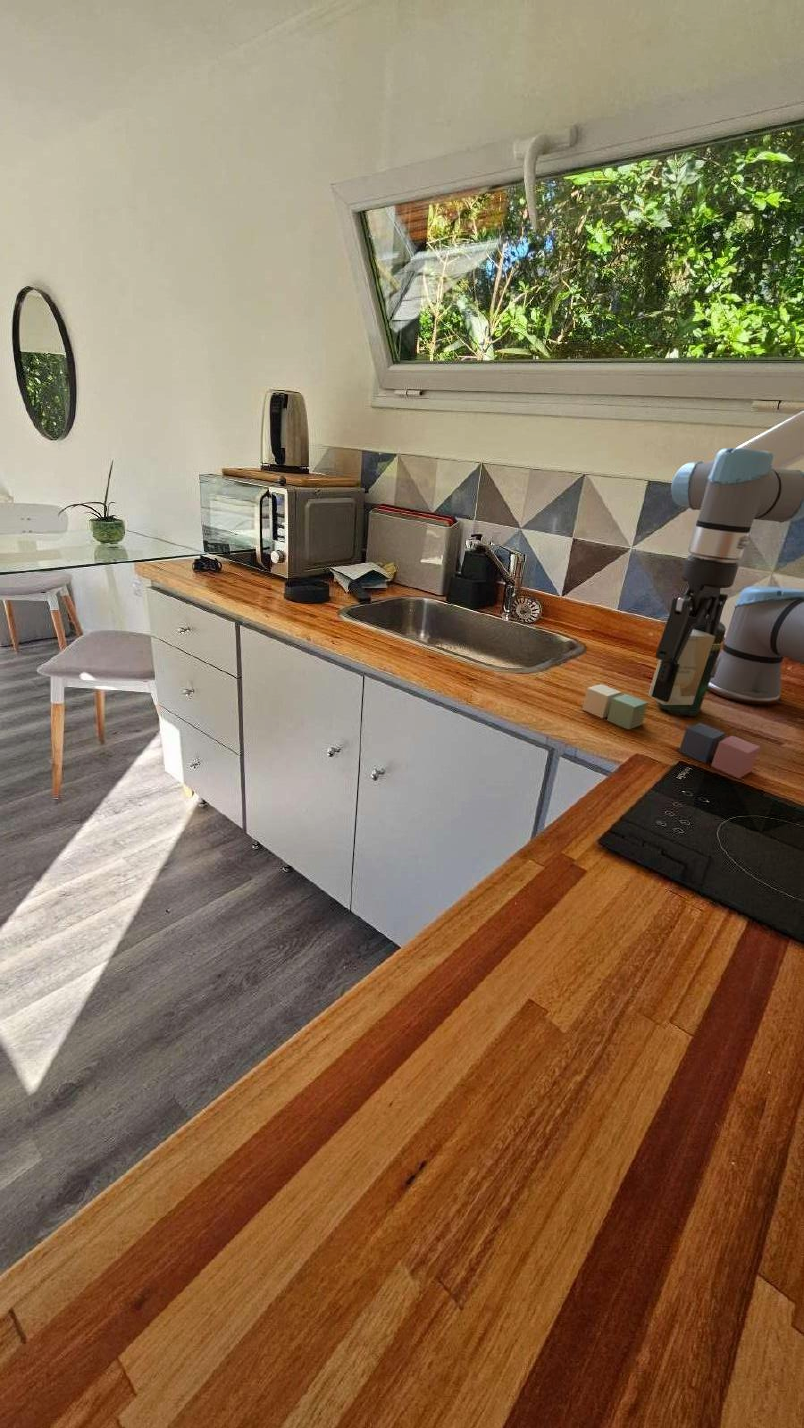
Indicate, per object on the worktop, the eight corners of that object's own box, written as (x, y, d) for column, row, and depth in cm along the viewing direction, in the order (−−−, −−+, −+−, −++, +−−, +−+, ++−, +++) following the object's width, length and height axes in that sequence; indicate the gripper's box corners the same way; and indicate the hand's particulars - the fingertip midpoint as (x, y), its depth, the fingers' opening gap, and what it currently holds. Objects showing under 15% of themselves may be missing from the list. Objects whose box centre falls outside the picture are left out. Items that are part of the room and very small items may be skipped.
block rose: (723, 759, 99) (731, 735, 97) (751, 771, 96) (760, 746, 94) (710, 766, 96) (719, 741, 94) (739, 778, 93) (748, 753, 91)
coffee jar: (698, 721, 113) (728, 627, 105) (654, 710, 116) (681, 618, 108) (700, 705, 121) (729, 616, 113) (659, 695, 124) (685, 608, 116)
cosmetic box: (662, 706, 99) (684, 635, 94) (646, 695, 102) (666, 627, 97) (694, 705, 100) (717, 635, 95) (677, 695, 104) (698, 627, 99)
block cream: (595, 705, 116) (600, 683, 114) (615, 713, 113) (621, 691, 111) (582, 709, 113) (587, 687, 111) (602, 718, 110) (607, 696, 108)
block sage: (620, 715, 112) (626, 693, 110) (641, 724, 109) (648, 702, 107) (606, 720, 109) (612, 698, 108) (628, 730, 106) (634, 707, 104)
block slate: (691, 746, 102) (699, 722, 101) (717, 757, 99) (725, 732, 98) (678, 752, 100) (686, 728, 98) (704, 763, 97) (713, 738, 95)
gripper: (706, 565, 83) (662, 714, 92) (765, 560, 95) (720, 692, 104) (657, 555, 88) (619, 697, 98) (718, 551, 100) (680, 678, 110)
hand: (672, 694), depth 101 cm, fingers closed on cosmetic box, 7 cm apart
